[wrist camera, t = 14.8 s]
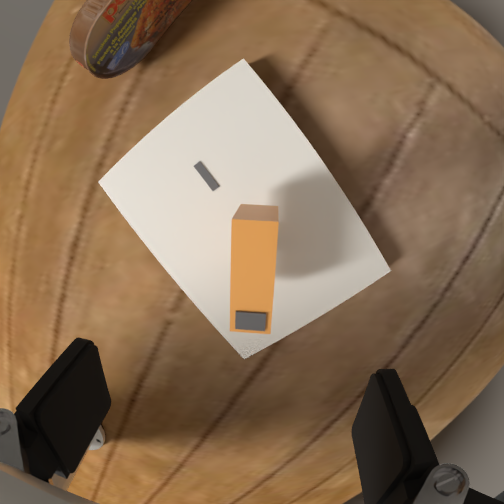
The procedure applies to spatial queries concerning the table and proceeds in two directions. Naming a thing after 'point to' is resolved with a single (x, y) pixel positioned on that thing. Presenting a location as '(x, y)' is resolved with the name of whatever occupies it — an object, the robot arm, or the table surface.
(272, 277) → the orange block on post
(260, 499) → the table surface
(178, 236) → the base plate
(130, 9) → the tin
